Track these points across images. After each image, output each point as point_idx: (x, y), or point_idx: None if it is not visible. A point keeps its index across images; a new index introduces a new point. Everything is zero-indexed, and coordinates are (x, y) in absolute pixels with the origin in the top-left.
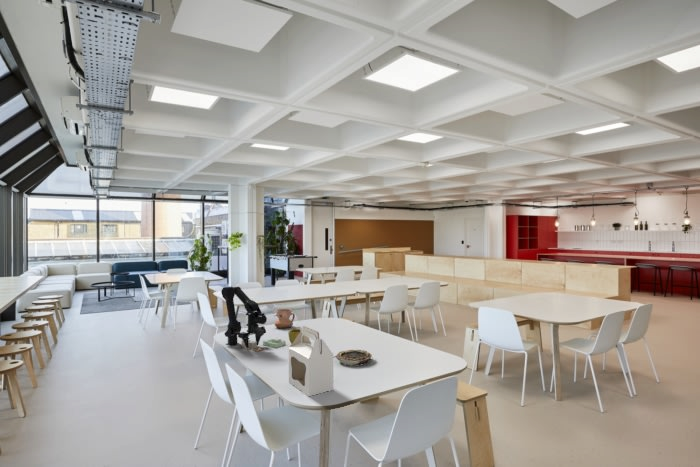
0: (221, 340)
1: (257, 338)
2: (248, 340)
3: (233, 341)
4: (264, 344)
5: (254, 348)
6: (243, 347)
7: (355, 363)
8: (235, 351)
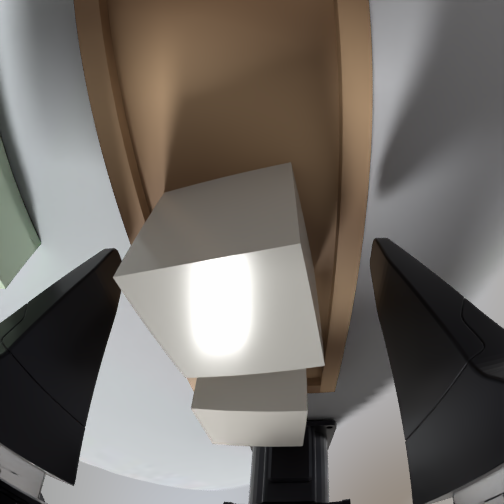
0: None
1: (57, 362)
2: (224, 416)
3: (313, 457)
4: (15, 228)
5: (233, 175)
6: (345, 329)
7: None
8: (470, 295)
